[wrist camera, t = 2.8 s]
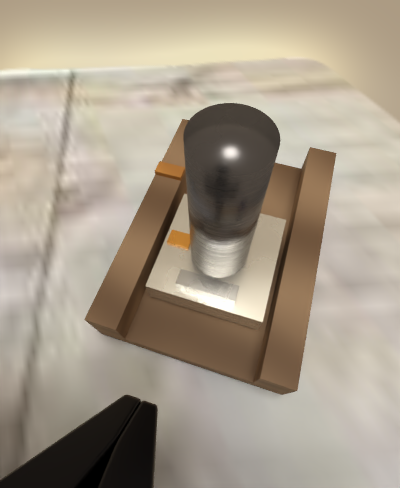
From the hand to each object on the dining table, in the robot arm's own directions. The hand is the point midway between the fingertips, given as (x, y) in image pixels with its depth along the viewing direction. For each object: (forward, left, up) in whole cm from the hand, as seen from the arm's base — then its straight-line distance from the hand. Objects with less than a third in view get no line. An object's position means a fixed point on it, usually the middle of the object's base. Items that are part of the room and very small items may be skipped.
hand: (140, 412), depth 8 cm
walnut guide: (+9, +4, -9) cm, 13 cm away
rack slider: (+7, +3, -8) cm, 11 cm away
